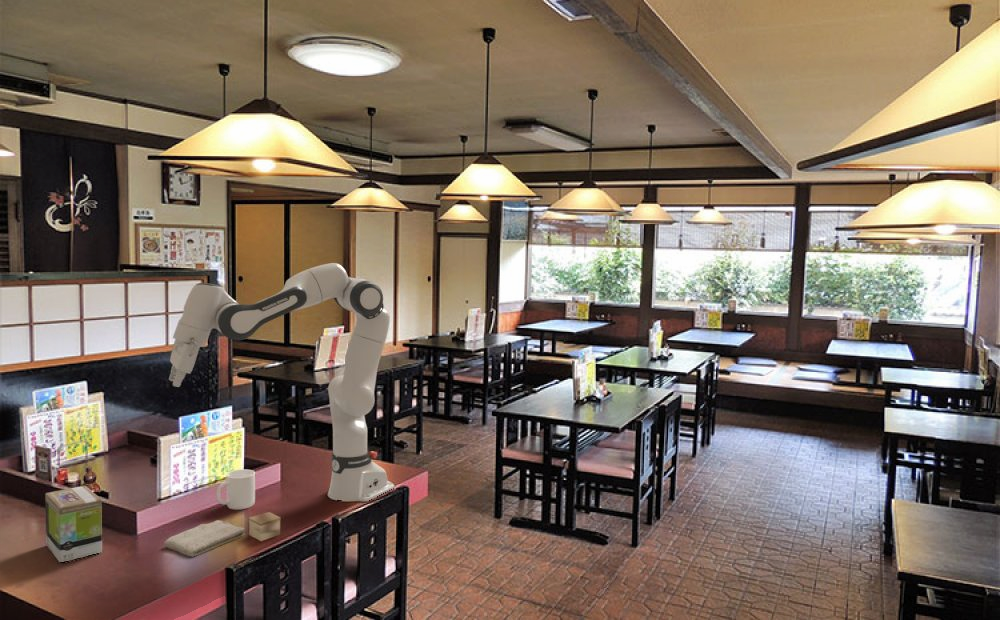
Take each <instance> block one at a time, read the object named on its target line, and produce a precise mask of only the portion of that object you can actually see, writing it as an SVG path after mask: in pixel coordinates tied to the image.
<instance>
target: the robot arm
mask: <svg viewBox="0 0 1000 620" xmlns="http://www.w3.org/2000/svg"><path fill="white" fill-rule="evenodd" d="M329 299H333V300H334V301H335V302H336V304H337V305H338V306H340V307H341V308H342V309H344V310H347V311H349V312H352V313H354V314H355V326H354V328H353V331H352V334H351V337H350V339H349V343H348V346H347V349H346V353H345V355H344V369H343V370H344V371H343V374H341V375H336V376H335V377H333V378H332V379H331V380H330V382H329V384H328V386H327V387H328V388H327V389H328V390H327V392H328V393H327V394H328V398H329V408H330V417H331V423H332V452H331V462H330V463H331V478H330V479H331V480H330V484H329V488H328V493H327V496H328V498H330V500H334V501H337V500H342V501H341V502H369V500H370V501H371V499H372V500H374V499H375V498H377V496H378V497H379V495H380V496H381V494H382V495H384V494H386V493H388V492H390V491H392V490H394V489H395V485H394V483H393V482H391V481H389V480H388V475H387V472H386V470H385V469H384V468H383V467H381V466H380V465H379V464H377V463H375V462H374V461H372V458H373V459H376V458H377V456H378V452H377V451H373V450H371V451H370V450H368V426H367V423H366V415H367V414H369V413H370V412H371V411H372V410H373V407H374V406H375V403H376V402H375V401H376V400H375V389H376V383H377V374H378V367H379V363H380V361H381V357H382V353H383V350H384V347H385V344H386V340H387V337H388V333H389V327H390V321H391V320H390V319H391V315H390V313H389V311H387V310H386V308H384V307H385V305H384V295H383V291H382V289H381V288H380V286H379V285H378V284H376V283H375V282H373V281H372V280H367V279H364V278H360V277H359V278H358V277H351V276H348V273H347V271H346V269H345V268H344V267H343V266H342V265H341V264H340V263H337V262H331V263H325V264H320V265H317V266H314V267H310V268H308V269H305V270H302V271H300V272H297V273H296V274H295V275H293V276H291V277H290V278H288V279H287V280H286V281H285V284H284V286H283V288H282V289H281V290H280V291H279V292H278V293H276V294H274V295H271V296H270V297H267V298H264V299H262V300H259V301H257V302H255V303H251V304H240V303H238V302H237V301H236V300H235V299H234V298H233V297H231V296H230V295H229V294H228V293H227V291H226V290H225V288H224V287H223V286H222V285H219V284H215V283H207V282H199V283H196V284H195V285H193V287H191V290H190V292H189V293H188V296H187V298H186V301H185V303H184V305H183V312H182V316H181V317H180V319H179V320H178V322H177V326H176V327H175V330H174V333H173V335H172V339H174V342H173V345H172V349H171V353H170V359H169V362H170V363H171V365H172V366H171V370H170V374H169V378H168V380H169V381H171V382H172V386H173V387H175V388H176V387H177V388H179V387H181V385H182V382H183V380H184V379H185V377H186V375H187V374H189V375H190V374H191V373H192V371H193V368H194V366H195V363H196V361H197V356H198V354H199V351H200V347H202V348H205V347H206V346H207V342H208V340H209V336H210V335H211V331H212V330H213V329H215V330H217V331H218V332H220V333H221V334H223V336H224V337H226V338H228V339H229V340H233V341H243V340H244V341H245V340H247V339H248V338H250V337H251V336H253V335H254V333H255V332H257V331H258V330H259V328H261V326H263V325H264V324H266V323H269V322H271V321H273V320H274V319H277V318H279V317H282V316H284V315H286V314H288V313H290V312H293V311H298V310H302V309H306V308H309V307H313V306H316V305H318V304H320V303H323V302H325V301H327V300H329ZM393 488H394V489H393ZM391 489H392V490H391ZM389 490H390V491H389ZM387 491H388V492H387ZM385 492H386V493H385ZM383 493H384V494H383Z"/></svg>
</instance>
